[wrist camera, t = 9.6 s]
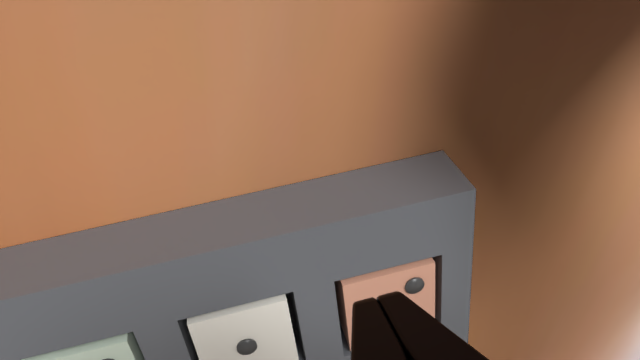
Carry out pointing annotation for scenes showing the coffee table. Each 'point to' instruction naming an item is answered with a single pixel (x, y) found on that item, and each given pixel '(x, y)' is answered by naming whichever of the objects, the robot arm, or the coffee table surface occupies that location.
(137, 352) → the key two dots
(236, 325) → the key one dot
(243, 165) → the coffee table surface
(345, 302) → the key three dots
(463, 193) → the keypad
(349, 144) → the coffee table surface
